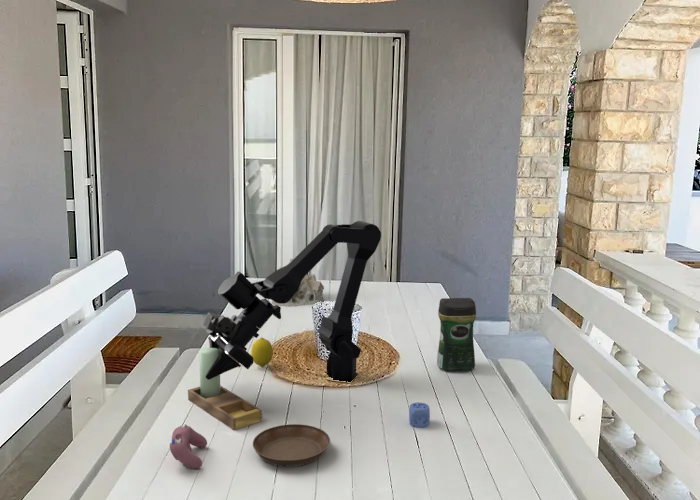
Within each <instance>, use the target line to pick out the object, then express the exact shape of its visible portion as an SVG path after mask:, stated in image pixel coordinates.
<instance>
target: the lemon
mask: <svg viewBox="0 0 700 500" xmlns="http://www.w3.org/2000/svg"><path fill="white" fill-rule="evenodd" d="M273 354H274V349H273V346H272V343H271V342H270V340H269V339H266V338H264V337H263V336H262V337H260V338H258V339H256V340H255V341H254V342H253V343H252V346H251V352H250V355H251V356H252V357H253V364H256V365H258V366H259V367H260V368H265V366H267V365H268V364H269V363H271V362H272V359H273Z"/></svg>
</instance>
